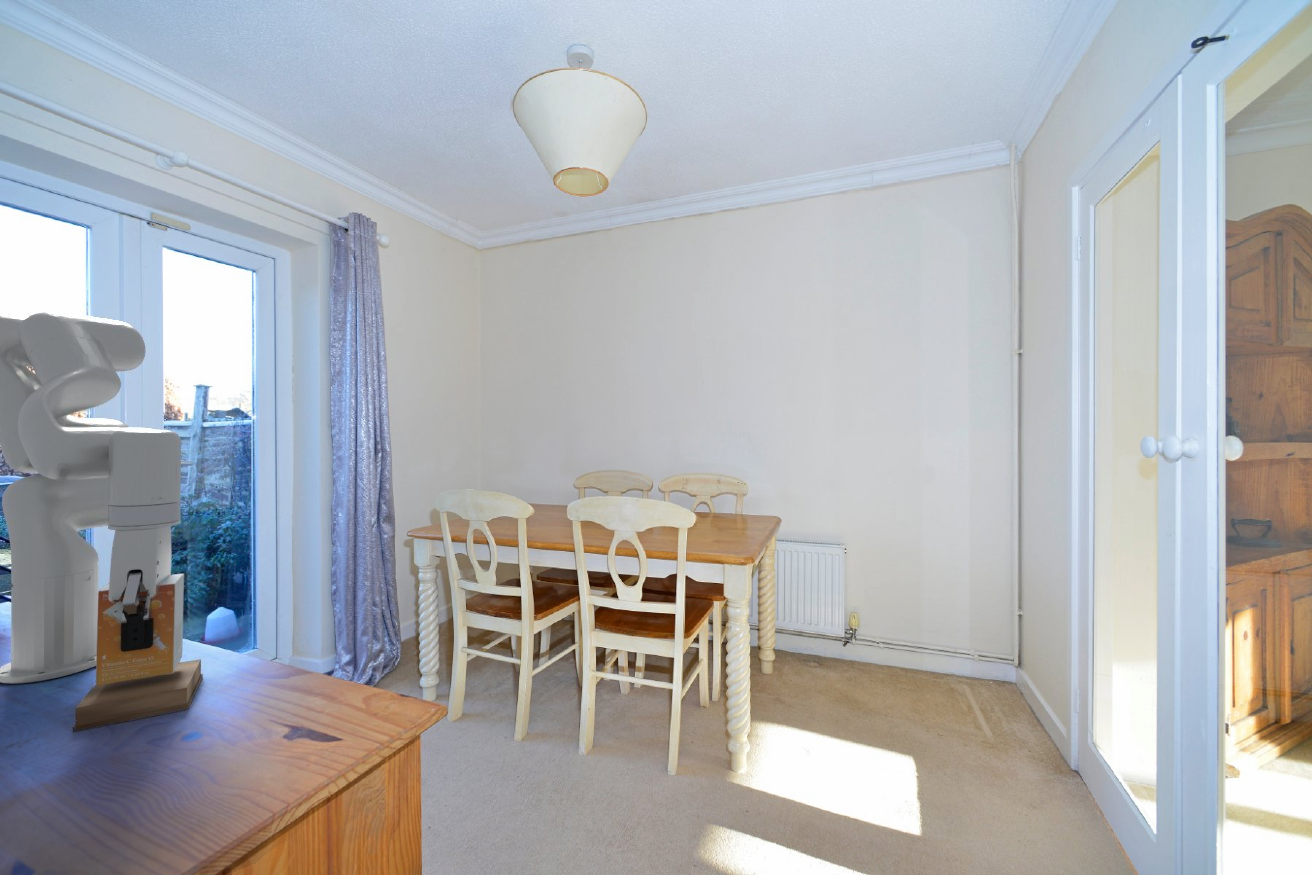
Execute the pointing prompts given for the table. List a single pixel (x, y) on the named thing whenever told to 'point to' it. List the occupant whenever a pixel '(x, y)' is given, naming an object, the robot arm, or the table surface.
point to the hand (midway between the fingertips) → (144, 639)
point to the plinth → (139, 697)
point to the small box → (165, 636)
